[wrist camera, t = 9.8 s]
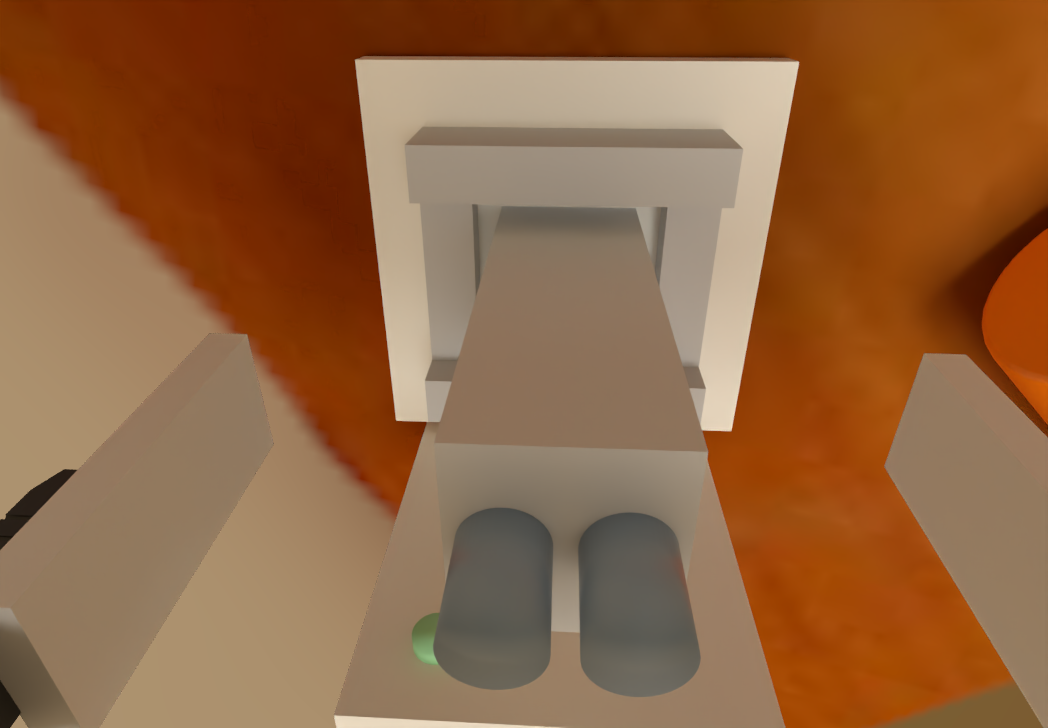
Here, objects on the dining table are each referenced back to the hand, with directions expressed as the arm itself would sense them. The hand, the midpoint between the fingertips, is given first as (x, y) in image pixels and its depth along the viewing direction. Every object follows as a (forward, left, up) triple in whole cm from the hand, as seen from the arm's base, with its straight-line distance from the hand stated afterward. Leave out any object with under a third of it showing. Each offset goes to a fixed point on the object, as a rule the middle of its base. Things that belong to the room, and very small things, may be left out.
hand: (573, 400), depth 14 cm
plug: (+1, 0, -9) cm, 9 cm away
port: (0, 0, -10) cm, 10 cm away
